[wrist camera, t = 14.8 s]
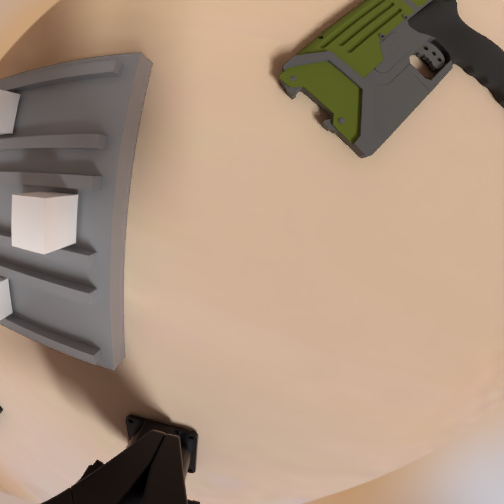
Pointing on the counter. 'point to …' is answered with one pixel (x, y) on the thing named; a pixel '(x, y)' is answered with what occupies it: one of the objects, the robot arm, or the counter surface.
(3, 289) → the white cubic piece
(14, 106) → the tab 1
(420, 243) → the counter surface
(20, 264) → the switch bank
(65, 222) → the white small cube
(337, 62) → the gun
